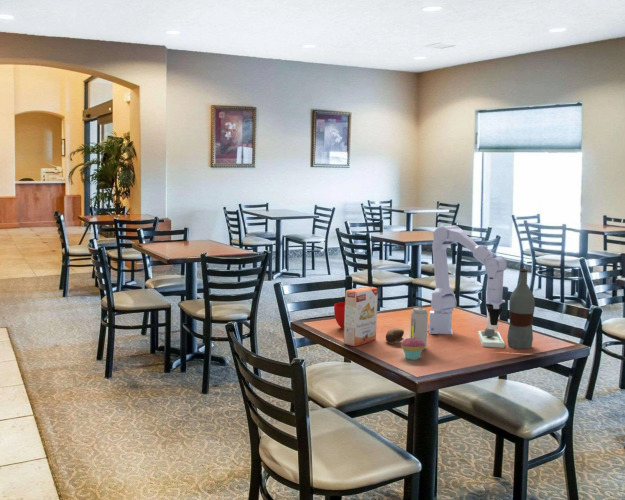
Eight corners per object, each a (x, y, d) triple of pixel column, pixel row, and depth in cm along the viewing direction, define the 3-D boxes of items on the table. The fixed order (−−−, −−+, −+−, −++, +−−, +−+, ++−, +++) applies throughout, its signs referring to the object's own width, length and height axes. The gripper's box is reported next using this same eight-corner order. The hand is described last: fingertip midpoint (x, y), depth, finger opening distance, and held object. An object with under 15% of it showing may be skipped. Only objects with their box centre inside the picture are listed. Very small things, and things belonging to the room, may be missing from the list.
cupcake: (398, 354, 234) (399, 321, 233) (421, 354, 235) (422, 321, 234) (403, 361, 226) (404, 327, 224) (427, 361, 227) (428, 327, 225)
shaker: (487, 329, 247) (488, 313, 246) (486, 326, 251) (486, 311, 250) (498, 329, 246) (498, 314, 245) (497, 327, 250) (497, 311, 249)
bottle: (537, 348, 245) (542, 270, 241) (521, 352, 240) (525, 272, 236) (517, 343, 252) (522, 266, 249) (501, 346, 248) (505, 268, 244)
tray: (482, 347, 245) (482, 342, 245) (478, 335, 262) (478, 330, 262) (504, 349, 244) (504, 343, 243) (498, 337, 261) (498, 331, 261)
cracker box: (355, 347, 243) (357, 292, 240) (342, 344, 247) (344, 290, 244) (377, 340, 254) (378, 287, 251) (364, 337, 257) (366, 285, 255)
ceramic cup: (378, 328, 273) (378, 304, 271) (347, 334, 262) (347, 309, 261) (357, 322, 283) (358, 299, 282) (327, 327, 273) (327, 304, 271)
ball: (484, 338, 257) (485, 328, 256) (483, 335, 261) (484, 325, 260) (495, 338, 256) (495, 328, 256) (493, 336, 260) (494, 326, 259)
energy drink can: (407, 346, 245) (408, 307, 243) (420, 345, 247) (422, 306, 245) (415, 351, 239) (417, 311, 237) (429, 349, 241) (431, 310, 240)
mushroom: (410, 333, 252) (401, 321, 250) (406, 345, 245) (397, 333, 244) (393, 340, 256) (384, 328, 255) (389, 352, 250) (380, 340, 248)
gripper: (508, 292, 239) (506, 328, 240) (503, 285, 253) (501, 319, 255) (488, 291, 240) (486, 327, 241) (484, 284, 254) (482, 318, 256)
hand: (492, 323), depth 248 cm, fingers closed on shaker, 4 cm apart
